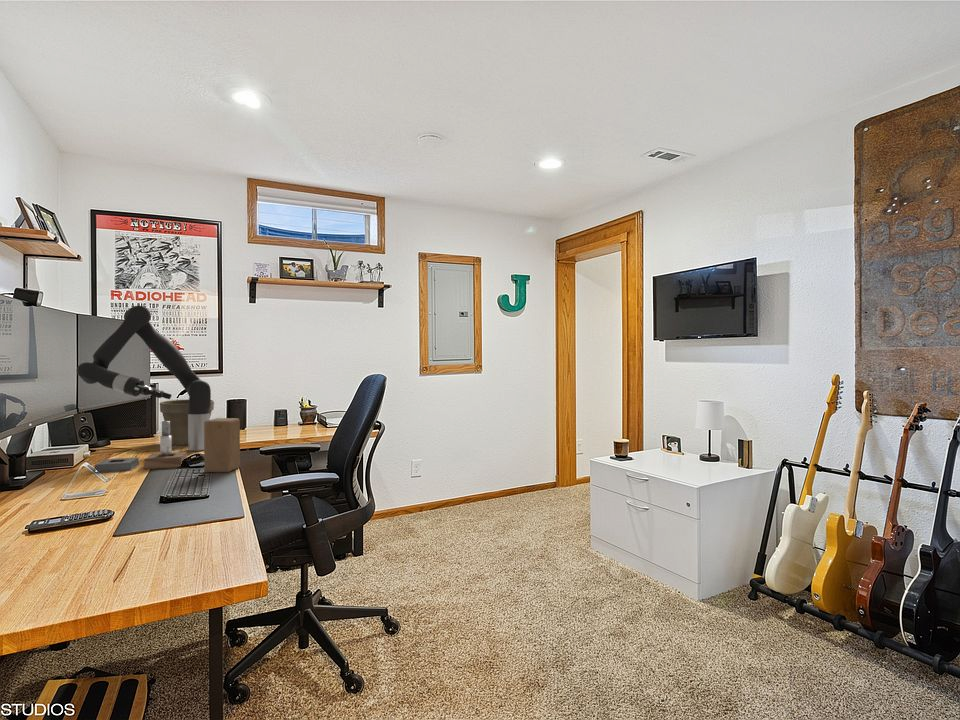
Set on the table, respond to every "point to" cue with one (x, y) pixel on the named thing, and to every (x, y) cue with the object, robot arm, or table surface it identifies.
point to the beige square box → (164, 460)
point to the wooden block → (221, 444)
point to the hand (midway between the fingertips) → (166, 396)
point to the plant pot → (178, 419)
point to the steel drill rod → (165, 440)
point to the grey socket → (117, 464)
